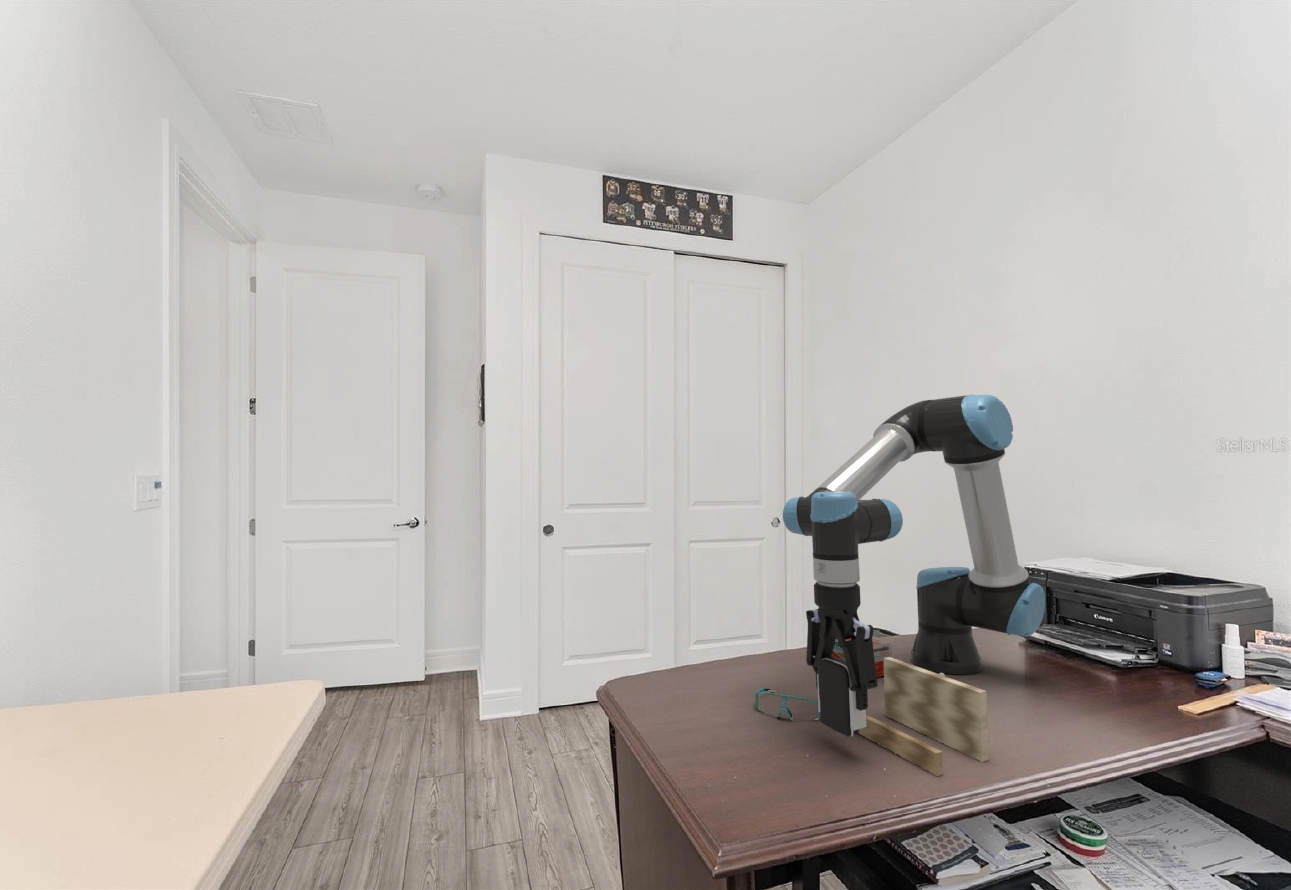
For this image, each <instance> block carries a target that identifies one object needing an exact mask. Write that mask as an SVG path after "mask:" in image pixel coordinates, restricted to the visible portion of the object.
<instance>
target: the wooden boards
mask: <svg viewBox="0 0 1291 890" xmlns="http://www.w3.org/2000/svg"><path fill="white" fill-rule="evenodd" d="M891 657H892V656H891ZM891 657H887V658H884V677H883V681H884V682H883V683H884V686H883V688H884V689H883V690H884V716H887V717H889V718H892V719H894V720H896V721H897V722H896V721H895V722H896V723H898V722H899V723H898V724H900V723H902V724H904V725H906V726H908V727H907V728H909V727H910V728H909V729H911V728H913V729H914V730H913V729H912V730H913V731H915V730H917V731H918V732H917V731H916V732H917V733H919V734H921V733H923V734H925V735H927V736H926V737H928V738H930V739H932V738H933V739H932V740H934V739H935V740H934V741H936V740H937V741H936V742H939V743H940V742H941V743H940V744H942V743H944V744H943V745H945V744H946V745H945V746H947V745H948V746H947V747H949V748H951V749H953V748H954V749H953V750H955V749H956V750H955V751H957V750H958V751H957V752H960V753H961V754H964V755H966V756H968V757H970V758H972V759H975V760H976V759H977V761H978V760H979V761H978V762H981V763H984V762H987V761H989V759H990V756H989V755H990V754H989V753H990V751H989V731H988V730H989V727H988V699H987V696H988V695H987V690H984V689H981V688H978V687H976V686H973V685H970V684H967V683H965V682H962V681H959V680H956V679H953V678H950V677H947V676H946V675H945V676H942V675H939V673H937V672H935V671H930V670H927V669H924V668H921V667H919V666H917V665H915V664H911V663H907V662H905V661H902V660H900V659H896V658H893V657H892V658H891ZM887 717H886V718H887ZM889 718H888V719H889ZM892 719H891V720H892ZM894 720H893V721H894ZM902 724H901V725H902ZM904 725H903V726H904ZM866 726H867V727H865V728H861V729H859V732H858V733H860V734H862V735H864V736H865V737H867V738H870V739H871V740H873V741H874V742H876V743H879V744H880V745H882V746H884V747H885V748H888V749H889V750H891V751H892V752H891V751H890V752H891V753H893V752H894V753H893V754H895V755H896V754H898V755H900V756H901V758H902V757H903V758H902V759H904V758H905V759H904V760H906V759H907V760H906V761H908V760H909V761H908V762H910V763H911V762H912V764H914V765H915V764H916V765H915V766H917V765H918V766H917V767H919V766H920V767H919V768H921V767H922V768H921V769H923V770H925V769H926V770H928V771H929V773H930V774H932V775H934V776H936V777H940V776H942V774H944V768H943V767H944V766H943V751H942V750H940V749H938V748H936V747H934V746H931V745H929V744H928V743H925V742H923V741H921V740H920V739H917V738H916V737H913V736H911V735H909V734H907V733H905V732H902V731H901V730H899V729H897V728H895V727H893V726H890V725H888V724H886V723H884V722H882V721H880V720H878V719H876V718H874V717H872V716H870V715H868V714H866ZM906 726H905V727H906ZM923 734H922V735H923ZM925 735H924V736H925ZM865 737H864V738H865ZM867 738H866V739H867ZM874 742H873V743H874ZM876 743H875V744H876ZM880 745H879V746H880ZM882 746H881V747H882ZM885 748H884V749H885ZM889 750H888V751H889ZM898 755H897V756H898ZM900 756H899V757H900ZM926 770H925V771H926ZM928 771H927V772H928Z"/></svg>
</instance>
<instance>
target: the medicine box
mask: <svg viewBox="0 0 1291 890" xmlns="http://www.w3.org/2000/svg"><path fill="white" fill-rule="evenodd" d="M849 640H851V638H850V639H846V640H845V641H849ZM872 643H873V651H874V659H875V667H876V675H877V678H882V677H881V676H884V658H887V657H891V658H893V656H892V649H891V648H892V647H891V646H892V645H891V642H890V641H889V640H885V639H882V638H880V637H876V636H873V637H872ZM831 657H836V658H839V659H842V660H845V656H844V653H843V649H842V647H840V646H839V644H838V640H837V639H836V640H835V644H834V648H833V652H832V656H831ZM845 661H846V660H845Z"/></svg>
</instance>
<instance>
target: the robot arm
mask: <svg viewBox="0 0 1291 890" xmlns="http://www.w3.org/2000/svg"><path fill="white" fill-rule="evenodd" d="M1013 432H1014V425H1013V420H1012V417H1011V414H1010V411H1009V410H1008V408H1007V406H1006V405H1005V403H1003V401H1002V400H1000V399H999V398H998V397H996V396H994V395H992V394H968V395H967V394H966V395H960V396H953V397H944V398H937V399H926V400H921V401H918V402H915V403H912V404H910V405H908V406H906V407H904V408H902V409H900V410H899V411H897V412H896V413H894V414H892V415H891V416H890V417H889V418H887V419H886V420H885V421H884V422H882V423H881V424H879V426H878V427H877V428H876V429H875V430H874V431H873V434H872V435H873V436H872V438H871V439H870V440H869V441H867V443H866V444H864V445H863V446H862V447H861V448H859V450H858V451H857V452H856V453H854V454H853V455H852V456H851V457H850V458H849V459H848V460H847V461H845V462H844V464H842V465H841V466H840V467H839V468H837V470H835V471H834V472H833V473H832V474H831V475H830V476H829V477H828V478H826V480H824V481H823V482H822V483H821V484H820V485H819V486H818V487H816V489H814V490H813V491H812V492H811V493H809V495H808V496H806V497H804V496H798V497H792V498H790V499H788V500H787V502H786V503H785V505H784V507H783V509H782V520H783V523H784V525H785V528H786V529H787V531H789V532H790V533H792V534H798V535H802V536H805V537H812V538H811V539H812V541H811V542H812V562H813V563H812V566H813V567H812V568H813V580H815V581H816V582H815V583H814V584H813V599H814V605H815V606H817V607H818V608H815V609H809V610H806V611H805V614H806V620H807V637H806V638H807V639H806V640H807V641H806V660H805V661H806V664H807V666H809V667H810V666H811V667H812V668H813V669H812V670H813V671H814V672H815V687H816V690H817V701H818V704H817V709H818V708H819V712H820V699H819V684H818V664H819V662H820V660H822V659H824V658H831V656H832V652H833V648H834V644H835V640H836V639H837V640H838V644H839V646H840V647H842V649H843V653H844V656H845V660H846V664H847V667H848V671H849V675H850V678H851V682H852V685H853V687H850V688H849V702H850V727H851V729H852V730H857V729H861V728H865V727H867V726H866V715H867V709H868V708H869V702H868V700H869V698H868V697H869V696H868V690H871V689H875V688H877V687H878V686H879V685H878V684H879V683H878V677H877V675H876V667H875V659H874V651H873V643H872V637H874V627H873V625H872V624H865V623H863V622H861V621H860V618H859V615H858V609H859V608H860V606H861V603H862V601H861V587H860V585H859V584H858V582H860V579H861V577H860V575H861V574H860V561H859V560H860V558H859V545H860V544H869V543H875V542H884V541H887V540H889V539H893V538H895V537H897V536H898V534H899V533H900V531H901V530H902V528H903V527H902V526H903V524H904V523H903V515H902V512H901V509H900V508H899V507H898V505H897V504H896V503H895V502H893V501H892V500H889V499H885V498H883V499H882V498H872V499H862V498H863V497H865V495H867V494H868V493H869V491H870V490H871V489H873V487H874V486H876V485H877V484H878V483H879V482H880V481H881V480H882V479H883V478H884V477H885V476H886V475H887V474H888V473H889V472H890V471H891V470H892V469H893V468H895V466H896V465H897V464H898V463H901V462H906V461H908V460H909V459H910V458H912V457H913V456H914V455H917V454H919V453H920V454H921V453H925V452H942V456H943V460H944V463H945V464H946V465H948V466H950V467H951V468H952V469H953V472H954V475H955V480H956V485H957V490H958V495H959V496H958V497H959V500H960V504H961V511H962V515H963V519H964V525H965V529H966V534H967V539H968V545H969V549H970V553H971V560H972V564H973V568H972V569H970V568H969V567H964V566H944V567H943V566H942V567H939V566H938V567H931V568H925V569H924V568H923V569H921V570H920V571H919V572H918V573H917V575H916V576H917V577H916V586H915V588H916V599H917V623H918V624H917V625H918V626H917V628H918V629H917V633H916V636H915V639H914V642H913V646H912V649H911V654H910V656H911V662H912V664H913V665H914V666H917V667H919V668H922V669H925V670H928V671H931V672H934V673H943V674H946V675H947V674H948V675H971V674H977V673H979V672H981V671H982V669H983V668H982V667H983V666H982V657H981V655H980V653H979V650H978V647H977V644H976V641H975V639H974V636H973V628H977V629H983V630H988V631H991V632H998V633H1002V634H1006V635H1007V636H1019V637H1030V636H1032V635H1033V634H1034V633H1036V631H1038V629H1039V627H1040V625H1041V624H1042V621H1043V618H1044V614H1045V609H1046V608H1045V607H1046V594H1045V590H1044V588H1043V586H1041V585H1040V584H1039V583H1035V582H1032V583H1031V579H1030V575H1029V572H1028V570H1027V569H1026V568H1025V567H1023V566H1022V565H1020V564H1019V561H1018V555H1017V550H1016V545H1015V540H1014V534H1013V531H1012V530H1013V529H1012V526H1011V519H1010V516H1009V515H1010V514H1009V509H1008V506H1007V505H1008V504H1007V500H1006V499H1007V498H1006V495H1005V489H1004V484H1003V478H1002V473H1001V468H1000V461H1001V460H1002V458H1003V457H1004V456H1005V455H1006V450H1005V449H1006V448H1008V447H1009V446H1011V443H1012V441H1013V437H1014V435H1013ZM850 638H851V640H849V641H845V640H846V639H850ZM859 680H860V681H859Z"/></svg>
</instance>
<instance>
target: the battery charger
mask: <svg viewBox="0 0 1291 890" xmlns="http://www.w3.org/2000/svg"><path fill="white" fill-rule="evenodd" d="M859 681H860V680H859ZM818 684H819V699H820V718H819V720H820V723H821V724H822V725H825V726H826V727H828V728H830V729H831V730H834V731H836V732H837V733H840V734H842V735H844V736H846V737H853V736H854V735H858V734H857V733H858V732H859V729H857V730H852V729H851V727H850V702H849V688H850V687H853V685H852V682H851V678H850V675H849V671H848V667H847V664H846V661H845V660H842V659H839V658H836V657H831V658H824V659H822V660H820V662H819V664H818Z"/></svg>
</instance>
